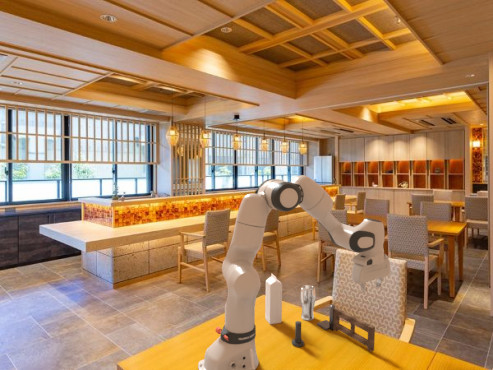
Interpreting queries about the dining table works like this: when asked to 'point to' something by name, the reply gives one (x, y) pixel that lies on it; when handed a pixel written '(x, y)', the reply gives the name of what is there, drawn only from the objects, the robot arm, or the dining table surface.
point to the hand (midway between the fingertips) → (371, 289)
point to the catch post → (297, 335)
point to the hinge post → (328, 324)
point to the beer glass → (307, 302)
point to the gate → (351, 333)
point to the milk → (273, 300)
